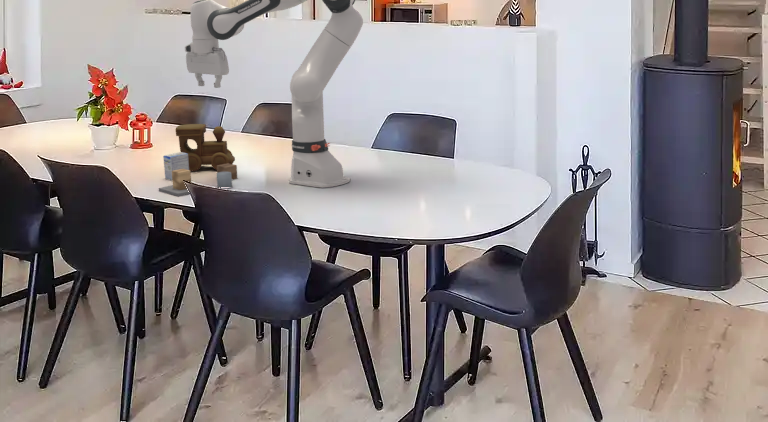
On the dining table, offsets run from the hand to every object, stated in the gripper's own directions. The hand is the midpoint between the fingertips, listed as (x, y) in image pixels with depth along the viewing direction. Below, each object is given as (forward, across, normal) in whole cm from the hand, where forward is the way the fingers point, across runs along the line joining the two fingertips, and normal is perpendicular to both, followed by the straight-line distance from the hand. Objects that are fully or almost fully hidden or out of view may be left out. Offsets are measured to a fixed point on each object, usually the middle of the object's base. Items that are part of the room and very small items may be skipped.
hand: (209, 86), depth 308 cm
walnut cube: (+33, -5, -1) cm, 33 cm away
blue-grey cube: (+33, -15, +8) cm, 37 cm away
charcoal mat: (+33, -8, +20) cm, 39 cm away
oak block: (+32, -8, +20) cm, 38 cm away
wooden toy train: (+33, +15, -7) cm, 37 cm away
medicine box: (+33, +11, +9) cm, 36 cm away
